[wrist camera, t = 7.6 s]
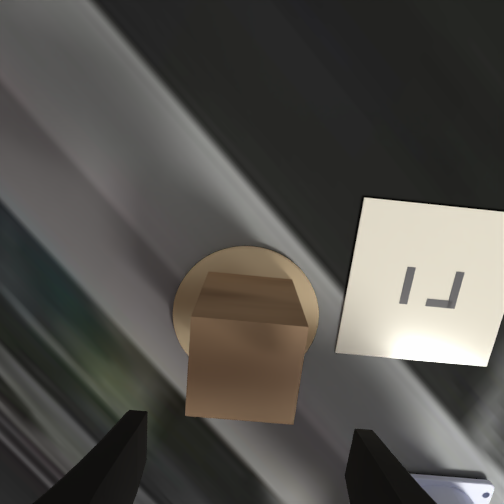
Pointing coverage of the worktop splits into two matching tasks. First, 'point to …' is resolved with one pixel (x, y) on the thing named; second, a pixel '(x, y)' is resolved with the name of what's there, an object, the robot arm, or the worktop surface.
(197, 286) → the cork coaster
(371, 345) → the tile
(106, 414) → the worktop surface
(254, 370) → the walnut block
